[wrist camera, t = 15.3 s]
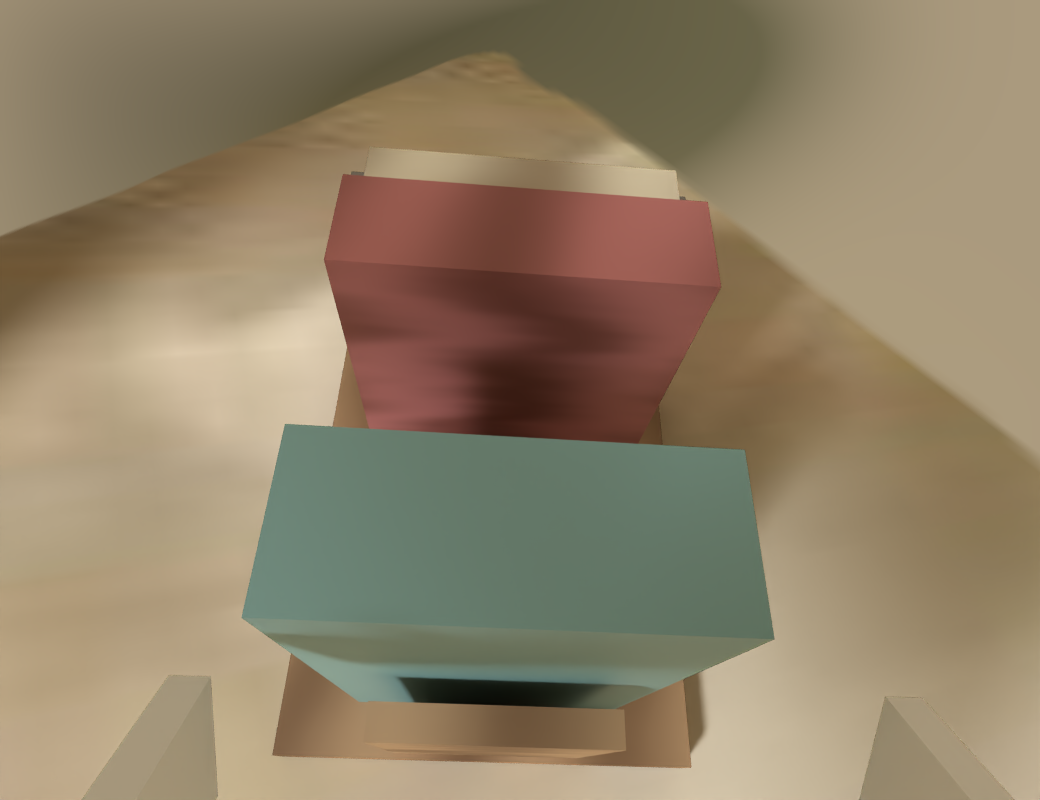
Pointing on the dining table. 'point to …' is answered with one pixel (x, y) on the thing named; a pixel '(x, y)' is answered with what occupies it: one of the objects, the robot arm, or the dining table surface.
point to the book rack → (507, 386)
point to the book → (506, 565)
